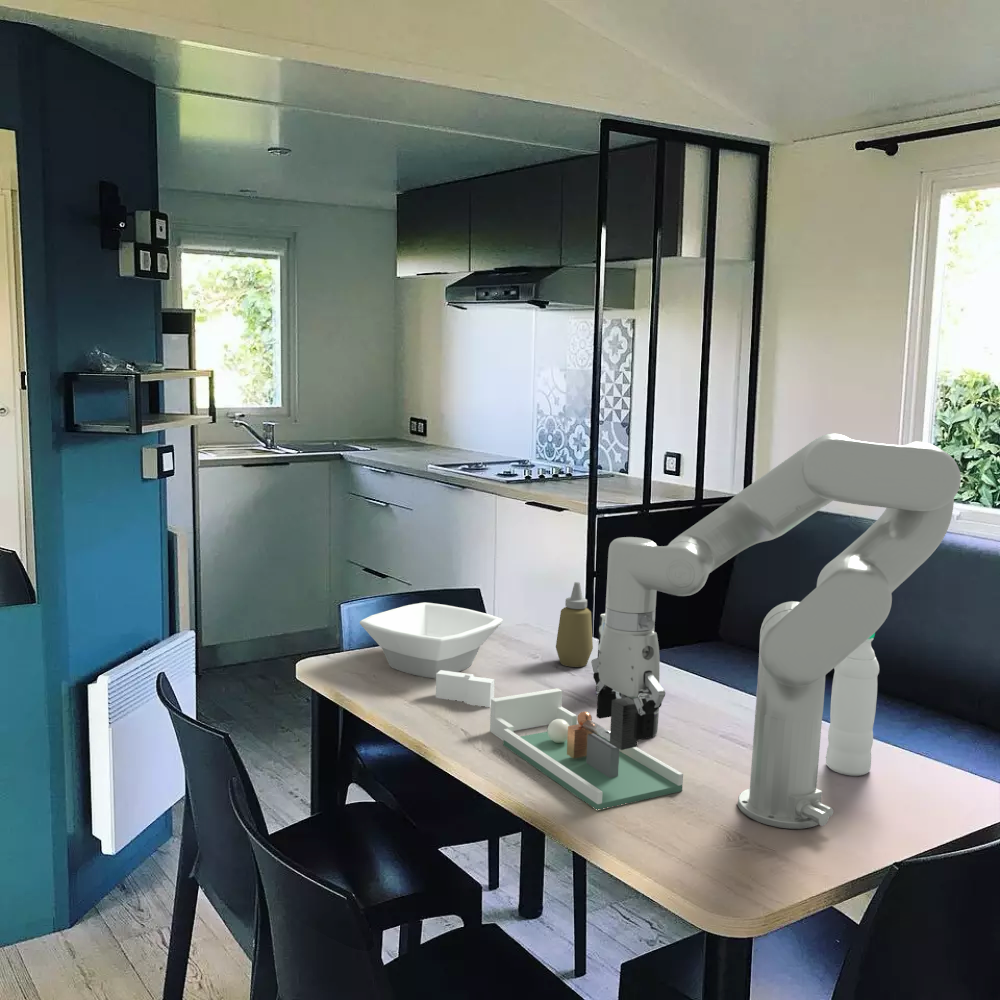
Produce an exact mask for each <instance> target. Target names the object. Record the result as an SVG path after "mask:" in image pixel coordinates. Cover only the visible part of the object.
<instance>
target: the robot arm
mask: <svg viewBox="0 0 1000 1000" xmlns="http://www.w3.org/2000/svg"><path fill="white" fill-rule="evenodd" d="M961 480H962V477H961V470H960V468H959V466H958V464H957V462H956V460H955V459H954V458H953V457H952V456H951V455H950V454H949V453H947V452H946V451H945V450H943V449H941V448H940V447H938V446H936V445H934V444H932V443H929V442H924V441H913V442H910V443H907V444H906V443H905V444H904V445H899V444H889V443H887V444H886V443H880V442H879V443H878V442H869V441H861V440H856V439H852V438H850V437H848V436H846V435H843V434H839V433H828V434H827V433H826V434H825V435H822V436H819V437H818V438H816V439H814V440H813V441H811V442H809V443H808V444H806V445H805V446H804V447H802V448H801V449H799V450H798V451H797V452H795V453H794V454H792V455H791V456H789V457H788V458H787V459H785V460H783V462H781V463H779V464H778V465H776V466H775V467H774V468H773V469H771V470H770V471H768V472H767V473H765V474H764V475H762V476H761V477H760V478H757V480H755V481H753V482H752V483H751V484H749V485H748V486H747V487H745V488H744V489H742V490H741V491H739V492H737V494H735V495H734V496H733V497H731V499H729V500H728V501H727V502H724V504H722V505H720V506H719V507H718V508H717V509H715V510H714V511H712V512H710V513H709V514H708V515H706V516H704V517H703V518H702V519H700V520H698V522H696V523H695V524H694V525H692V526H690V527H689V528H688V529H686V530H684V531H683V532H682V533H680V534H678V535H677V536H676V537H675V538H674V539H672V540H671V541H670V542H669V543H668V544H667V545H664V546H663V545H661V546H659V545H657V543H656V542H654V541H653V540H651V539H649V538H643V537H637V536H635V537H634V536H626V537H625V536H624V537H617V538H614V539H613V540H612V541H611V542H610V543H609V547H608V553H607V557H608V558H607V579H606V594H605V596H606V597H605V612H604V613H605V625H604V629H603V634H602V640H601V646H600V655H599V657H598V656H597V658H593V659H591V662H590V663H591V667H592V672H593V674H592V676H593V680H594V681H595V693H596V692H597V693H598V694H596V695H597V696H596V697H597V698H596V699H597V700H596V713H595V714H596V718H598V719H607V718H611V708H612V700H614V699H616V692H615V691H617V692H619V693H621V694H623V695H625V696H627V697H629V698H632V699H634V702H635V705H636V707H637V710H638V713H636V714H635V725H634V738H635V739H636V740H637V741H640V740H644V739H650V738H653V737H652V736H653V728H654V713H657V710H658V708H659V709H660V708H661V707H662V703H663V701H664V699H665V696H666V690H665V688H664V687H662V685H661V684H660V679H661V678H660V675H661V674H660V646H659V641H658V640H659V638H658V634H657V632H656V631H655V627H656V626H655V624H656V623H655V622H656V607H657V592H662V593H665V594H668V595H671V596H677V597H687V596H692V595H694V594H696V593H698V592H699V591H701V589H703V587H704V586H705V584H706V582H707V580H708V578H709V575H710V573H712V572H713V571H715V570H716V569H718V568H719V567H720V566H722V565H723V564H724V563H726V562H727V561H728V560H731V559H732V558H733V557H735V556H737V555H739V553H741V552H744V550H747V549H748V548H749V547H752V546H754V545H756V544H759V543H763V542H768V541H772V540H774V539H777V538H779V537H781V536H783V535H785V534H786V533H787V532H789V531H791V530H792V529H793V528H795V527H796V526H797V525H799V524H800V523H802V522H803V521H805V520H806V519H808V518H809V517H810V516H812V515H814V514H816V513H817V512H818V511H819V510H821V509H823V507H826V506H827V505H829V504H830V503H832V502H833V501H834V502H840V503H845V504H852V505H859V506H866V507H867V506H869V507H875V508H876V507H878V508H885V510H884V511H883V512H882V514H881V515H880V516H879V517H878V519H876V520H875V521H874V523H872V524H871V525H870V526H869V527H868V529H866V531H864V532H863V533H862V534H861V535H860V536H859V537H857V538H856V539H855V540H854V541H853V542H852V543H851V544H850V545H848V546H847V547H846V548H845V549H844V550H843V551H842V552H840V553H839V554H838V555H837V556H836V557H834V558H833V559H832V560H831V561H829V562H828V563H827V564H825V565H824V567H823V568H822V569H821V571H820V573H819V575H818V577H817V581H816V587H815V588H814V589H813V590H812V591H811V592H809V594H807V595H806V596H805V597H804V598H802V600H800V601H793V600H791V601H786V602H782V603H780V604H777V605H776V606H775V607H773V608H772V609H771V610H770V611H769V612H768V613H767V614H766V616H765V617H764V618H763V621H762V623H761V627H760V632H759V649H758V650H759V653H758V656H759V657H758V670H757V685H756V699H755V711H754V722H753V723H754V725H753V738H752V750H751V751H752V753H751V769H750V782H749V783H750V784H749V788H747V789H745V790H743V791H742V792H741V793H739V795H738V799H737V805H738V808H739V810H740V811H741V812H742V814H744V815H745V816H747V817H748V818H749V819H752V820H754V821H756V822H758V823H761V824H764V825H767V826H772V827H775V828H780V829H781V828H783V829H791V830H792V829H793V830H801V829H809V828H812V827H815V826H818V825H820V826H822V827H823V826H825V825H826V824H827V823H828V821H829V819H830V818H831V817H832V816H833V814H834V809H833V808H832V807H830V805H829V806H828V805H827V804H823V802H822V795H823V791H822V790H820V789H819V788H817V785H818V770H819V761H820V749H821V747H820V746H821V738H822V737H821V736H822V735H821V734H822V723H823V722H822V721H823V714H824V713H823V712H824V704H825V703H824V702H825V690H826V689H825V688H826V675H827V674H828V673H830V672H831V671H833V669H834V667H836V666H837V665H838V664H839V663H840V662H842V661H843V660H844V659H845V658H846V657H847V656H849V655H850V654H851V653H852V652H853V651H854V650H856V649H857V648H858V647H859V646H860V645H861V644H862V643H864V642H865V641H866V640H867V639H868V638H869V637H870V636H872V635H873V634H874V633H875V634H876V632H877V631H878V630H879V629H880V628H881V626H882V625H883V624H884V623H885V621H886V619H888V616H889V614H890V611H891V608H892V601H893V595H892V593H893V592H894V591H895V590H896V589H897V588H899V587H900V585H901V584H903V582H905V581H906V580H907V579H908V578H909V577H910V576H911V575H912V574H913V573H914V572H915V571H916V570H918V569H919V567H920V566H922V565H923V564H924V563H925V562H926V561H927V560H928V559H929V557H931V556H932V554H933V553H934V552H935V551H936V549H937V548H938V547H939V546H940V545H941V543H942V542H943V540H944V538H945V536H946V534H947V533H948V530H949V527H950V525H951V522H952V521H951V520H952V517H953V511H954V505H955V497H956V496H957V494H958V492H959V490H960V486H961V483H962V482H961ZM613 689H614V690H615V691H612V690H613ZM639 691H643V693H639ZM644 698H646V701H647V703H646V704H645V705H643V702H642V699H644Z"/></svg>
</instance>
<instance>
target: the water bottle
mask: <svg viewBox="0 0 1000 1000" xmlns="http://www.w3.org/2000/svg"><path fill="white" fill-rule="evenodd" d="M875 635H876V632H875V633H874V634H873V635H872V636H870V637H869V638H868V639H867V640H866V641H865V642H864V643H862V644H861V645H860V646H859V647H858V648H857V649H856V650H854V651H853V652H852V653H851V654H850V655H849V656H847V657H846V658H845V659H844V660H843V661H842V662H840V663H839V664H838V665H837V666H836V667H834V668H833V669H834V673H833V678H832V685H831V693H830V694H831V698H830V711H829V712H830V714H829V715H830V718H829V719H830V724H829V727H828V733H827V740H828V741H827V742H828V743H827V748H826V755H825V763H826V766H827V767H828V768H829V769H830V770H832V771H833V772H835V773H838V774H840V775H844V776H853V777H858V776H864V775H866V774H868V773H869V772H870V770H871V767H872V747H873V743H874V730H873V729H874V724H875V718H876V709H877V700H878V698H877V697H878V675H879V674H880V664H879V661H878V659H877V657H876V654H875V650H874V649H873V647H872V642H873V640H874V638H875V637H876V636H875Z"/></svg>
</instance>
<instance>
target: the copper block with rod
mask: <svg viewBox="0 0 1000 1000" xmlns="http://www.w3.org/2000/svg"><path fill="white" fill-rule="evenodd" d="M636 713H638V710H637V707H636V705H635V702H634V700H632V699H630V698H628V697H625V698H620V699H614V700H612V708H611V717H610V729H609V730H608V729H607V728H605V727H603V726H601V725H600V724H598V723H597V722H595V721H593V717H592V715H591V713H590V712H589V711H583V710H582V711H581V712H579V713H578V714H577V725H572V726H568V738H567V755H569V756H570V757H572V758H573V759H574V758H579V757H584V756H587V737H588V735H589V734H595V735H597V736H599V737H600V738H602V739H604V740H605V741H607V742H609V743H610V744H612V745H614V746H615V747H617V748H619V749H620V750H624V749H629V748H634V747H637V748H638V740H636V739H635V738H634V725H635V714H636ZM578 723H579V724H578Z"/></svg>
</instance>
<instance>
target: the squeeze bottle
mask: <svg viewBox="0 0 1000 1000" xmlns="http://www.w3.org/2000/svg"><path fill="white" fill-rule="evenodd" d="M564 604H565V607H563V608H562V609H561V610H560V615H559V622H558V630H557V635H556V642H555V650H556V653H557V655H558V661H559V663H560V664H561V665H563V666H565V667H572V668H580V667H585V666H588V665H587V664H588V662H589V660H590V657H591V654H592V651H593V649H594V642H593V626H592V624H593V623H592V622H593V621H592V611H591V610H590V609H589V608H588V599H587V598H584V597H583V593H582V586H581V583H580V582H578V581H575V582H574V583H573V587H572V591H571V595H570V597H566V598H565V603H564Z"/></svg>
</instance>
